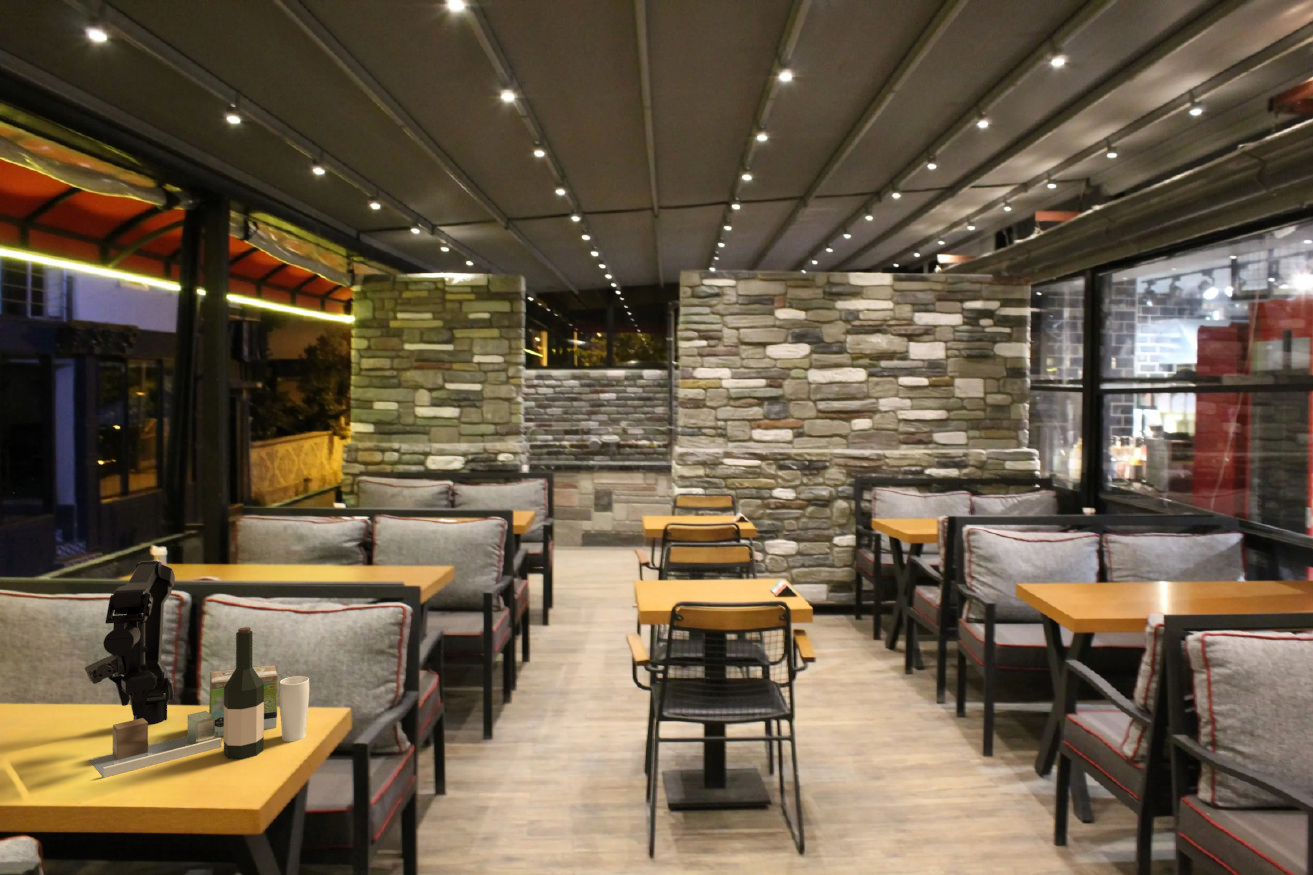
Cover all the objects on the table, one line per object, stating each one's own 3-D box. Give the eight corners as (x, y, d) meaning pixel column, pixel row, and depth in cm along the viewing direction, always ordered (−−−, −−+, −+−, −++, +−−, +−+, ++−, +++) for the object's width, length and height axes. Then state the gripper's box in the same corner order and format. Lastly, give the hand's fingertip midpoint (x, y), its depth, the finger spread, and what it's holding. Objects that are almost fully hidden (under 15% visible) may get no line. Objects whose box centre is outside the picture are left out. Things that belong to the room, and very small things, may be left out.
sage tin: (187, 743, 193) (187, 714, 193) (205, 739, 196) (205, 710, 196) (196, 751, 189) (196, 721, 189) (214, 746, 192) (214, 717, 191)
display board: (202, 735, 200) (202, 723, 200) (221, 750, 191) (221, 738, 191) (89, 764, 183) (89, 751, 183) (104, 782, 174) (104, 768, 174)
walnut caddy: (142, 747, 190) (142, 717, 190) (147, 752, 188) (148, 722, 188) (112, 754, 186) (112, 724, 186) (116, 760, 183) (116, 729, 183)
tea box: (209, 742, 196) (209, 682, 196) (208, 729, 205) (209, 671, 205) (277, 731, 204) (278, 673, 204) (274, 718, 213) (274, 662, 212)
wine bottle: (271, 753, 191) (272, 626, 190) (240, 766, 183) (240, 634, 182) (247, 746, 194) (247, 622, 193) (215, 759, 186) (215, 630, 186)
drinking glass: (315, 737, 200) (315, 677, 200) (294, 748, 194) (295, 685, 193) (293, 734, 202) (293, 674, 202) (272, 744, 196) (272, 682, 196)
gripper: (78, 641, 187) (78, 708, 187) (99, 658, 174) (99, 730, 175) (134, 633, 195) (134, 697, 195) (158, 648, 182) (157, 717, 183)
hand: (130, 710), depth 187 cm, fingers open, 9 cm apart
